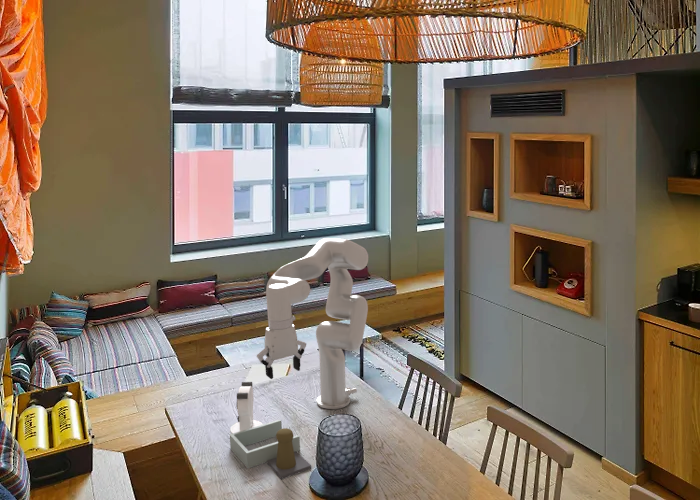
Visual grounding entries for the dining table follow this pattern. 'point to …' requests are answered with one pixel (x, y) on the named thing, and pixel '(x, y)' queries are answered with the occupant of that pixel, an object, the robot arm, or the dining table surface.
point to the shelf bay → (257, 435)
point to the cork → (285, 449)
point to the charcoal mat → (283, 473)
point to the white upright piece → (245, 409)
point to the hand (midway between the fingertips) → (283, 373)
